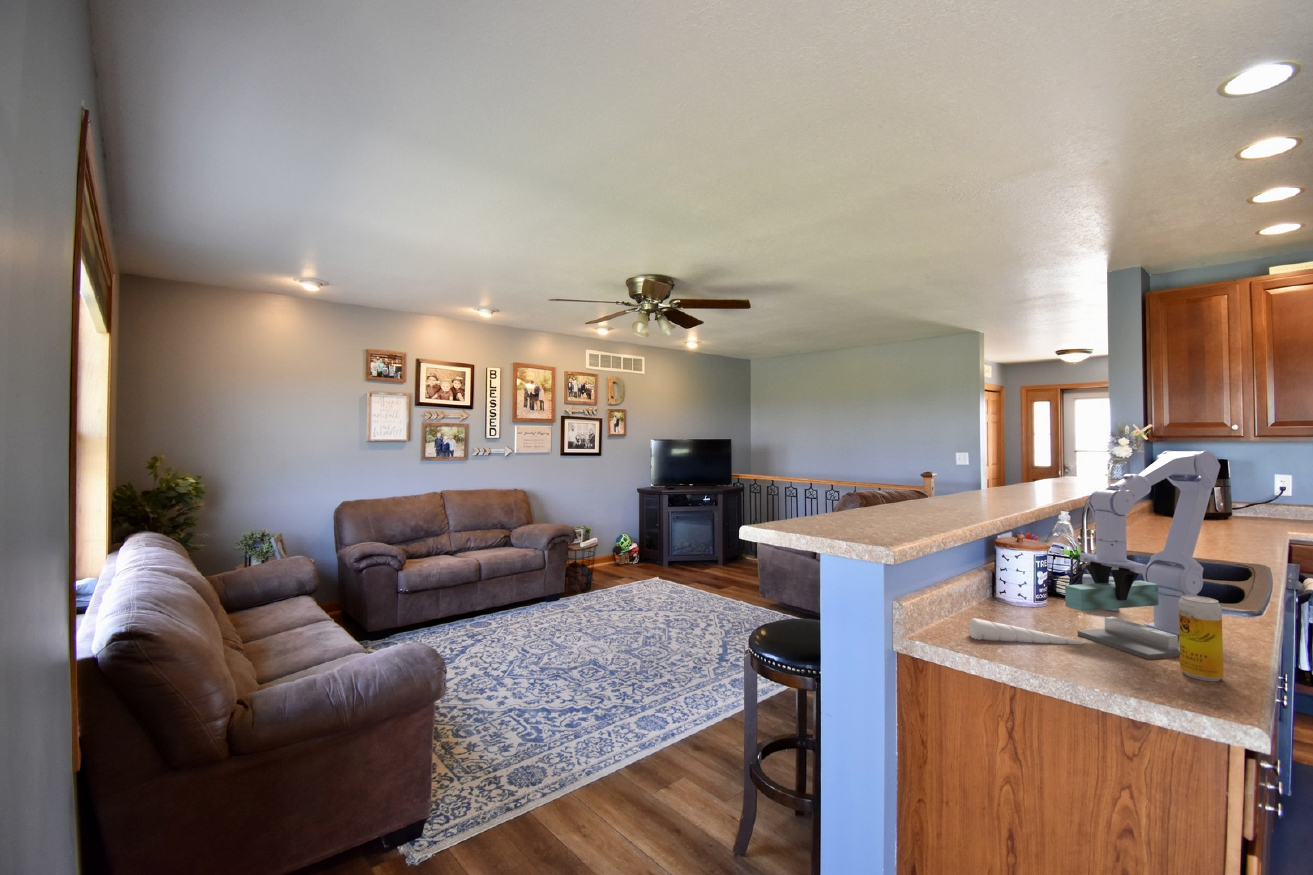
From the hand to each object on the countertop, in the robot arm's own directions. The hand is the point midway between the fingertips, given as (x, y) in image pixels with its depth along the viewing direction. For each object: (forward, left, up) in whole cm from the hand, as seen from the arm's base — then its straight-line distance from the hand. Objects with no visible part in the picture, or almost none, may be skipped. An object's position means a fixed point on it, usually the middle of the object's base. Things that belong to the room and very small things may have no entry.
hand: (1112, 597), depth 134 cm
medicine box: (-19, -19, -9) cm, 28 cm away
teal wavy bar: (0, 0, -2) cm, 2 cm away
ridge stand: (0, +6, -9) cm, 11 cm away
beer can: (+7, +23, -9) cm, 26 cm away
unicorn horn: (+23, -2, -10) cm, 25 cm away
